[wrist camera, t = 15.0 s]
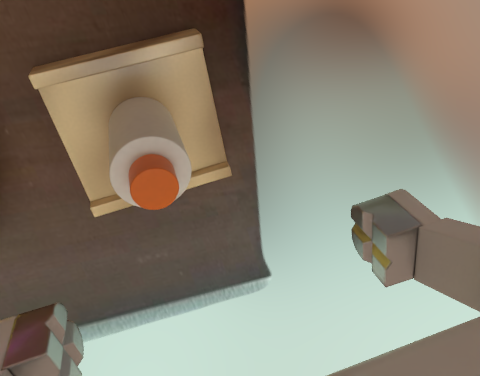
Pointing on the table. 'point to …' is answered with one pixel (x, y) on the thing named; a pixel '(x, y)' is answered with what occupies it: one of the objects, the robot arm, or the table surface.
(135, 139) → the white bottle
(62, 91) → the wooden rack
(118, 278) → the table surface
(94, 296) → the table surface
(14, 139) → the table surface
